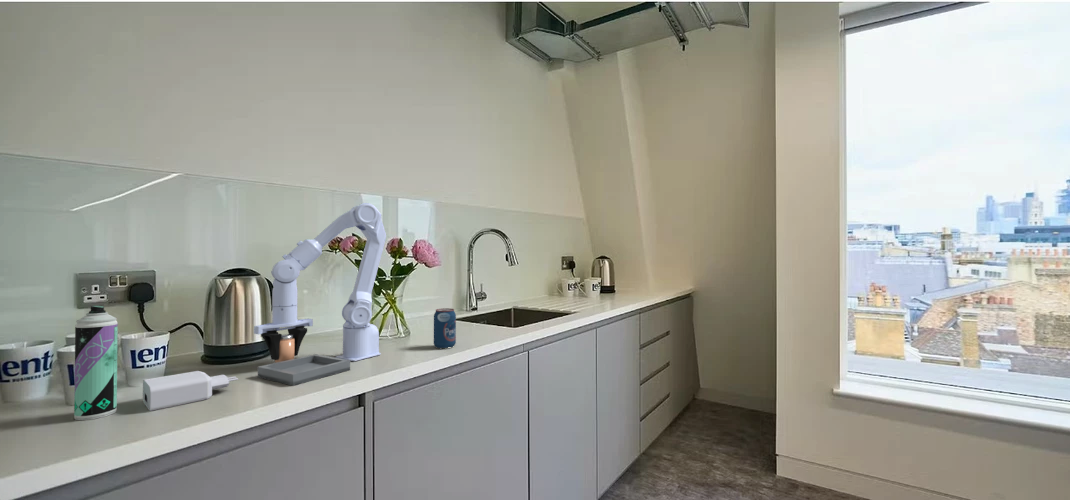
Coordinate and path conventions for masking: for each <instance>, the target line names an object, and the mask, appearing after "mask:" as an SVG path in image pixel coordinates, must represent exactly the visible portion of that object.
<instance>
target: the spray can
mask: <svg viewBox="0 0 1070 500" xmlns="http://www.w3.org/2000/svg"><path fill="white" fill-rule="evenodd" d="M117 320H118V318H117V317H116V316H113V315H110V314H109V312H108V311H106V310H105V307H104V305H90V310H89V311H88V312H87V313H85V315H84V316H82V317H81V318H79V319H76V321H75V323H76V324H75V326H74V327H75V328H74V392H73V393H74V397H73V399H74V401H73V402H74V404H73V406H74V408H73V409H74V411H73V417H74V418H73V419H74V420H77V421H89V420H95V419H100V418H104V417H107V416H110V415H113V414H115V413H116V412H117V409H118V408H117V407H118V405H117V404H118V399H117V397H118V394H117V393H118V325H119V324H118V321H117Z"/></svg>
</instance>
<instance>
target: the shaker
mask: <svg viewBox="0 0 1070 500" xmlns="http://www.w3.org/2000/svg"><path fill="white" fill-rule="evenodd" d="M294 355H295V338H293V334H289V333H286V334H285V333H284V334H282V336H281V340H280V345H279V359H278V360H274V363H277V362H282V361H286V360H291V359H295V356H294Z"/></svg>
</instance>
